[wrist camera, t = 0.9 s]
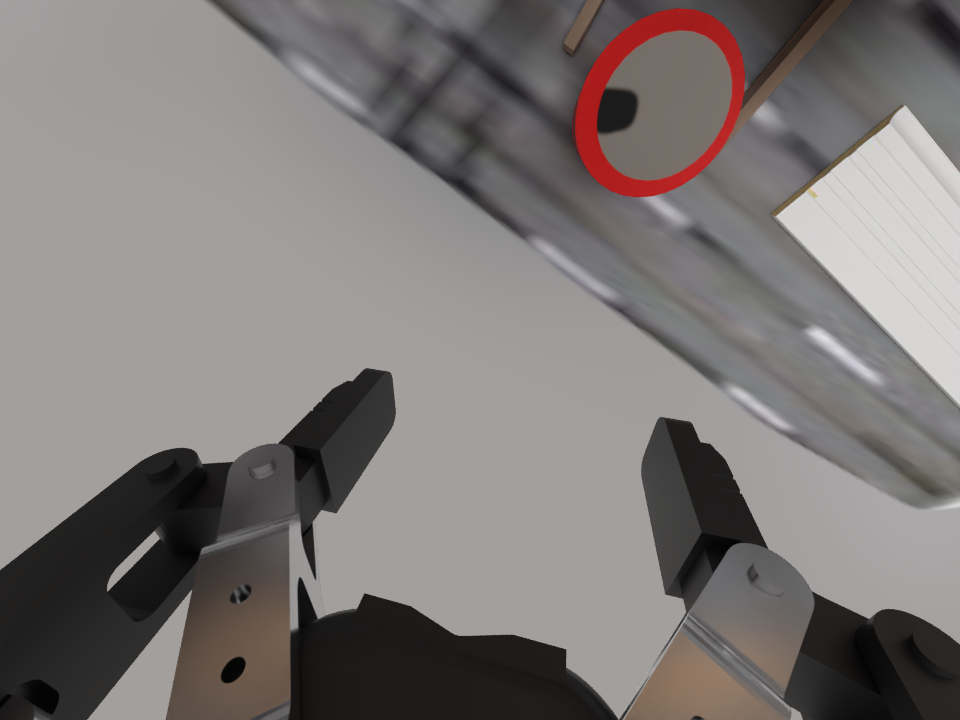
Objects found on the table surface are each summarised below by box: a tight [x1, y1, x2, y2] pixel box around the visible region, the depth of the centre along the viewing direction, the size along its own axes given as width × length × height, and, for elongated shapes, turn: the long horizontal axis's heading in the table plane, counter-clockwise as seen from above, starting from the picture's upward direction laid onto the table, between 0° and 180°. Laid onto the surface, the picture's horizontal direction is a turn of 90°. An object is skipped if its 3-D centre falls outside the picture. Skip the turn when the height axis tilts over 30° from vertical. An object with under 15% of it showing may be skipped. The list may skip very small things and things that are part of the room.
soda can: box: [572, 8, 745, 197], centre depth 22 cm, size 8×8×12 cm
